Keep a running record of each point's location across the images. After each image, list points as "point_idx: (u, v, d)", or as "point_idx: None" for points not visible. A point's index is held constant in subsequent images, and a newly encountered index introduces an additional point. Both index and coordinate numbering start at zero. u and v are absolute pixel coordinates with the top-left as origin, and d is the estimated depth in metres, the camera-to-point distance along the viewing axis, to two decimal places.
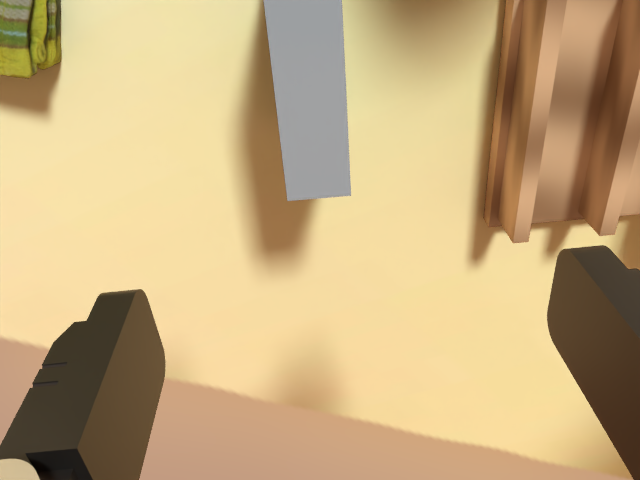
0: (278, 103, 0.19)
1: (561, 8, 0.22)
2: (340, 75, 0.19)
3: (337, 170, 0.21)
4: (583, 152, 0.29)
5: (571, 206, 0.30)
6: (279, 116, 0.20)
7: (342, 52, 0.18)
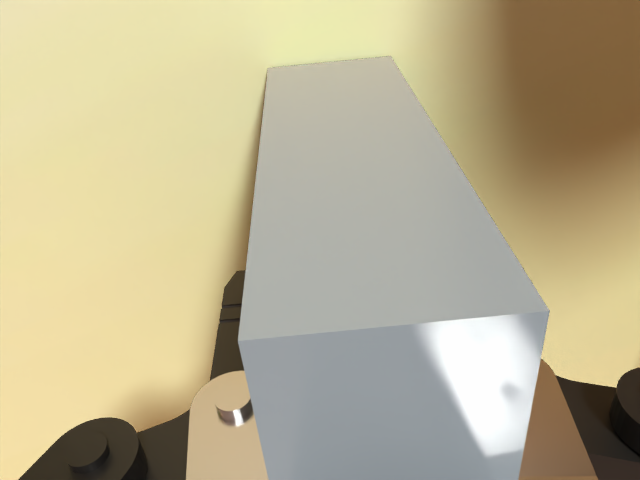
0: None
1: None
2: None
3: None
4: None
5: None
6: None
7: None
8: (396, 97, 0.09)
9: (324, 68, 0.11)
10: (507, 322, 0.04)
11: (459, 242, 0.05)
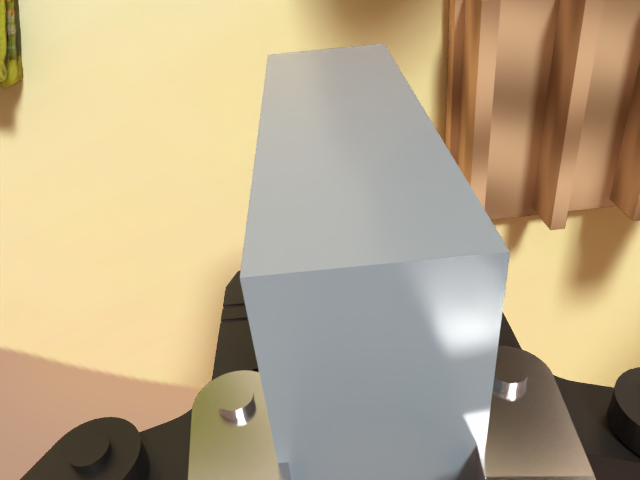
0: None
1: (495, 15, 0.24)
2: (468, 469, 0.07)
3: None
4: (532, 150, 0.30)
5: (525, 202, 0.32)
6: None
7: (483, 430, 0.06)
8: (387, 79, 0.10)
9: (321, 54, 0.11)
10: (474, 262, 0.05)
11: (436, 199, 0.06)
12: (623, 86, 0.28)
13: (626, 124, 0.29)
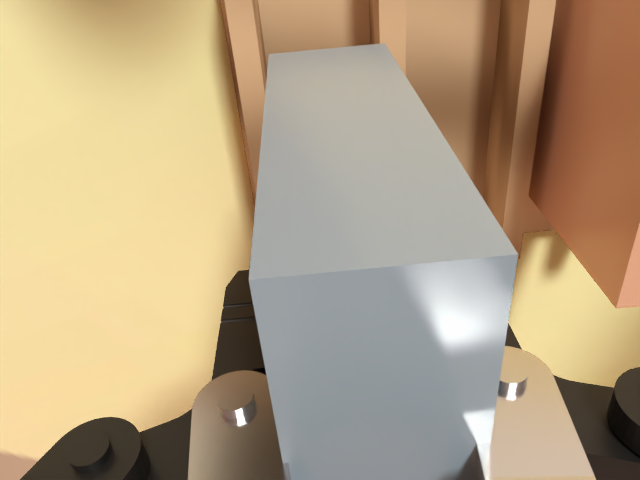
0: None
1: None
2: (472, 470, 0.07)
3: None
4: None
5: None
6: None
7: (487, 431, 0.06)
8: (389, 80, 0.10)
9: (322, 54, 0.11)
10: (482, 265, 0.05)
11: (443, 201, 0.06)
12: (479, 72, 0.20)
13: (490, 127, 0.21)
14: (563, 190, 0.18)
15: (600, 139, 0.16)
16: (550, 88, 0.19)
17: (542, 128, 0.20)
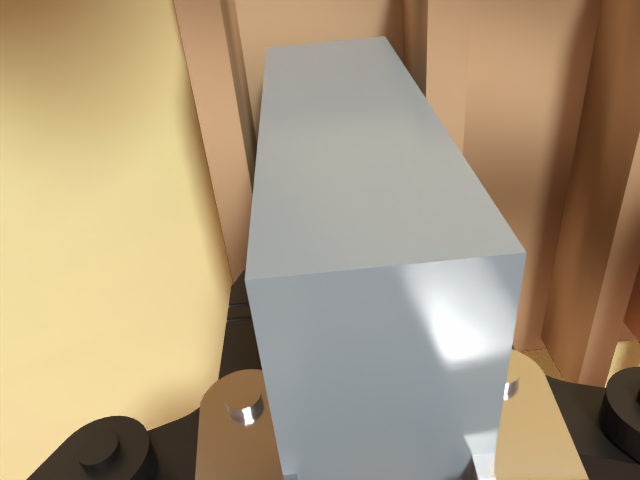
0: None
1: (210, 4, 0.10)
2: None
3: None
4: None
5: None
6: None
7: (493, 435, 0.06)
8: (390, 73, 0.09)
9: (321, 47, 0.11)
10: (488, 264, 0.05)
11: (447, 198, 0.06)
12: (553, 150, 0.14)
13: (563, 219, 0.15)
14: None
15: None
16: None
17: None
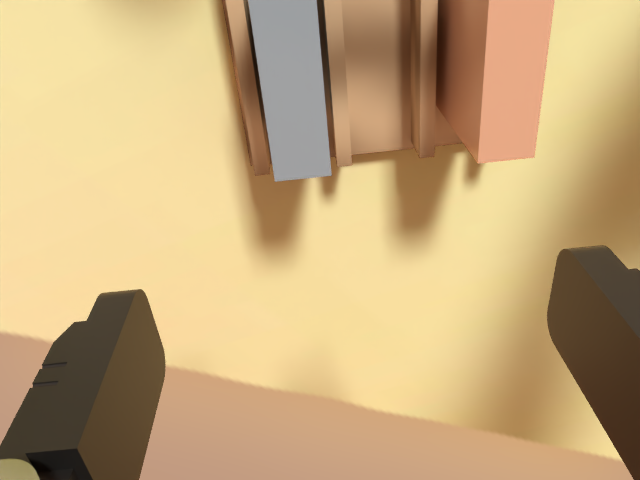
0: (264, 93, 0.22)
1: None
2: (317, 67, 0.22)
3: (318, 152, 0.23)
4: None
5: None
6: (265, 105, 0.22)
7: (318, 47, 0.21)
8: None
9: None
10: None
11: None
12: (399, 20, 0.28)
13: (411, 61, 0.30)
14: (454, 97, 0.27)
15: (465, 53, 0.24)
16: (445, 28, 0.27)
17: (443, 58, 0.28)
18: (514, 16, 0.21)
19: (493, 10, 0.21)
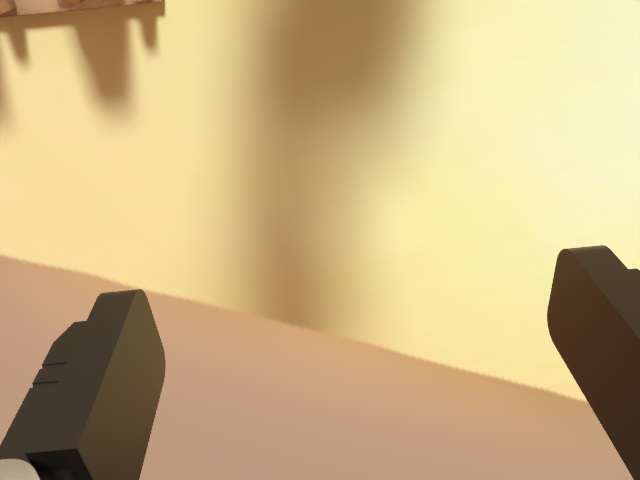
0: None
1: None
2: None
3: None
4: None
5: None
6: None
7: None
8: None
9: None
10: None
11: None
12: None
13: None
14: None
15: None
16: None
17: None
18: None
19: None
